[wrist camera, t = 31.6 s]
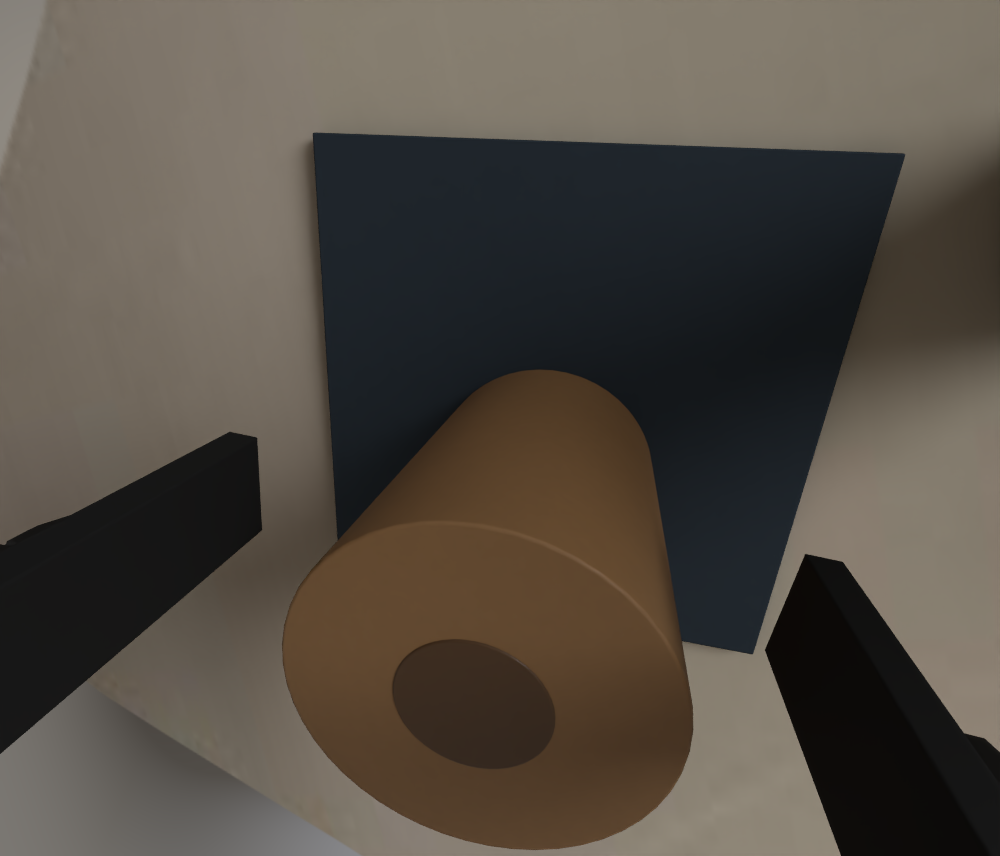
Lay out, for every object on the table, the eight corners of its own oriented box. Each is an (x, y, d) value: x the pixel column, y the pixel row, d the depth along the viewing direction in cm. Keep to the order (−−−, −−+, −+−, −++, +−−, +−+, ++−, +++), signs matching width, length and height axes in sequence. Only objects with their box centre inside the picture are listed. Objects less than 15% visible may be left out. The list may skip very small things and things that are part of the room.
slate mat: (344, 570, 27) (339, 576, 26) (319, 134, 20) (311, 132, 19) (750, 646, 24) (753, 655, 23) (898, 155, 16) (906, 153, 16)
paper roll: (654, 895, 12) (741, 568, 9) (296, 799, 13) (258, 490, 10) (634, 576, 23) (669, 381, 20) (440, 544, 25) (443, 357, 21)
